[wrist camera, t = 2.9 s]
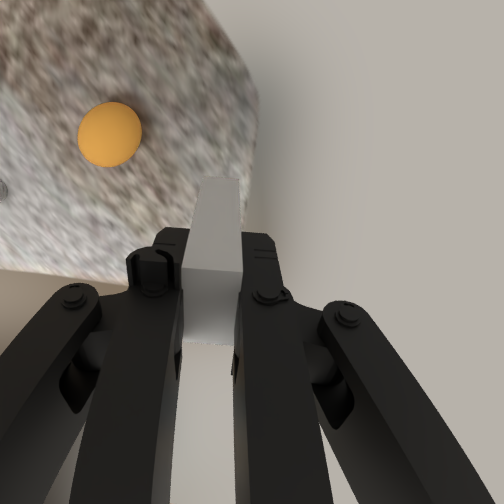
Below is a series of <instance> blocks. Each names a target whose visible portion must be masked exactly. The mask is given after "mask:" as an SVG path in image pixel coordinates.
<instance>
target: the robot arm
mask: <svg viewBox="0 0 504 504" xmlns="http://www.w3.org/2000/svg"><path fill="white" fill-rule="evenodd" d="M126 266H127V274H128V282H129V288H128V290H127V291H124V292H122V293H118V294H114V295H106V296H99V295H98V292H97V291H96V289H95V288H94V287H92V286H91V285H89V284H84V283H74V284H69V285H67V286H64V287H62V288H61V289H59V290H58V291H57V292H55V293H54V294H53V295H52V297H51V298H50V299H49V300H48V301H47V302H46V303H45V304H44V305H43V306H42V307H41V309H40V310H39V311H38V312H37V313H36V314H35V315H34V316H33V318H32V319H31V320H30V321H29V322H28V323H27V324H26V326H25V327H24V328H23V329H22V330H21V332H20V333H19V334H18V335H17V336H16V337H15V339H14V340H13V341H12V342H11V343H10V345H9V346H8V347H7V348H6V349H5V351H4V352H3V353H2V355H1V356H0V504H43V503H44V500H45V498H46V496H47V494H48V492H49V490H50V488H51V486H52V484H53V482H54V480H55V478H56V476H57V474H58V472H59V470H60V468H61V466H62V464H63V462H64V461H65V459H66V457H67V455H68V453H69V451H70V449H71V447H72V445H73V444H74V442H75V440H76V438H77V436H78V434H79V432H80V431H81V429H82V427H83V425H84V423H85V422H86V424H85V428H84V432H83V436H82V440H81V444H80V449H79V453H78V458H77V463H76V468H75V473H74V478H73V483H72V488H71V494H70V500H69V504H170V486H171V469H172V456H173V455H172V454H173V443H174V431H175V420H176V408H177V399H178V390H179V380H180V371H181V363H182V339H183V342H188V343H201V344H202V343H203V344H215V345H234V354H233V362H232V369H231V375H233V416H234V460H235V493H236V504H334V503H333V497H332V491H331V485H330V480H329V474H328V468H327V463H326V457H325V452H324V446H323V441H322V436H321V430H320V425H321V427H322V429H323V431H324V434H325V436H326V438H327V440H328V442H329V444H330V446H331V448H332V450H333V452H334V454H335V456H336V458H337V460H338V462H339V464H340V466H341V469H342V470H343V473H344V475H345V477H346V479H347V481H348V483H349V485H350V487H351V489H352V491H353V493H354V495H355V497H356V499H357V501H358V503H359V504H495V502H494V500H493V499H492V497H491V495H490V494H489V492H488V490H487V489H486V487H485V485H484V483H483V482H482V480H481V479H480V477H479V475H478V473H477V472H476V470H475V468H474V467H473V465H472V464H471V462H470V460H469V459H468V457H467V455H466V454H465V453H464V451H463V449H462V448H461V446H460V445H459V443H458V441H457V440H456V438H455V437H454V435H453V434H452V432H451V431H450V429H449V428H448V426H447V425H446V423H445V422H444V420H443V418H442V417H441V415H440V414H439V412H438V411H437V409H436V408H435V406H434V405H433V403H432V402H431V400H430V399H429V398H428V396H427V395H426V393H425V392H424V391H423V389H422V387H421V386H420V384H419V383H418V382H417V380H416V379H415V377H414V376H413V375H412V373H411V372H410V370H409V369H408V367H407V366H406V365H405V363H404V362H403V360H402V359H401V358H400V356H399V355H398V353H397V352H396V351H395V349H394V348H393V346H392V345H391V344H390V342H389V341H388V340H387V338H386V337H385V336H384V334H383V333H382V332H381V330H380V329H379V327H378V326H377V325H376V323H375V322H374V321H373V319H372V318H371V317H370V315H369V314H368V313H367V312H366V311H365V310H364V309H363V308H362V307H360V306H358V305H356V304H354V303H351V302H347V301H334V302H330V303H328V304H327V305H326V306H325V307H324V309H323V311H320V310H317V309H313V308H309V307H306V306H303V305H301V304H299V303H297V302H295V301H294V300H293V297H292V295H291V293H290V291H289V290H288V289H286V288H285V287H284V286H283V281H282V276H281V271H280V266H279V261H278V257H277V253H276V247H275V242H274V241H273V240H272V239H271V238H270V237H269V236H268V235H267V234H264V233H252V232H241V217H240V194H239V179H234V178H222V177H209V176H203V179H202V183H201V187H200V191H199V195H198V199H197V203H196V207H195V211H194V215H193V219H192V223H191V228H190V229H186V228H172V227H165V228H164V229H163V230H161V231H160V232H159V233H158V234H157V235H156V237H155V240H154V243H153V245H152V247H144V248H140V249H137V250H135V251H134V252H132V253H130V254H129V256H128V257H127V258H126ZM319 423H320V425H319Z"/></svg>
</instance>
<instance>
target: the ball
mask: <svg viewBox="0 0 504 504" xmlns="http://www.w3.org/2000/svg"><path fill="white" fill-rule="evenodd" d="M141 136H142V128H141V123H140V120H139V118H138V116H137V115H136V113H135V112H134V111H133V110H132V109H131V108H130V107H128V106H126V105H124V104H122V103H117V102H107V103H103V104H100V105H98V106H96V107H94V108H93V109H91V110H90V111H89V112H88V113H87V114H86V115H85V117H84V118H83V120H82V121H81V124H80V126H79V129H78V145H79V148H80V151H81V153H82V154H83V156H84V157H85V158H86V159H87V160H88V161H89V162H91V163H93V164H95V165H97V166H101V167H113V166H117V165H120V164H122V163H124V162H125V161H127V160H128V159H129V158H130V157H132V155H133V154H134V153H135V151H136V150H137V148H138V146H139V144H140V141H141Z"/></svg>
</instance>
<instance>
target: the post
mask: <svg viewBox="0 0 504 504" xmlns="http://www.w3.org/2000/svg"><path fill="white" fill-rule="evenodd" d="M6 196H7V187H6V185H5V183H4V182H3V181H2V180H0V203H1V202H2V201H3V200H4V199H5V198H6Z"/></svg>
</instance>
